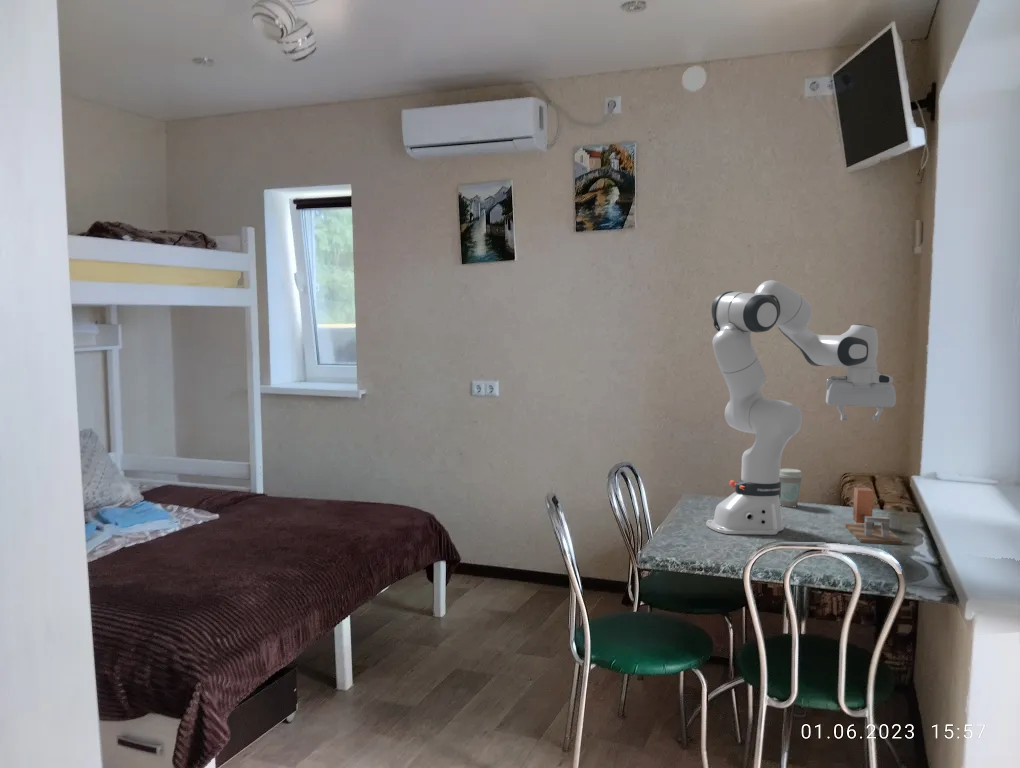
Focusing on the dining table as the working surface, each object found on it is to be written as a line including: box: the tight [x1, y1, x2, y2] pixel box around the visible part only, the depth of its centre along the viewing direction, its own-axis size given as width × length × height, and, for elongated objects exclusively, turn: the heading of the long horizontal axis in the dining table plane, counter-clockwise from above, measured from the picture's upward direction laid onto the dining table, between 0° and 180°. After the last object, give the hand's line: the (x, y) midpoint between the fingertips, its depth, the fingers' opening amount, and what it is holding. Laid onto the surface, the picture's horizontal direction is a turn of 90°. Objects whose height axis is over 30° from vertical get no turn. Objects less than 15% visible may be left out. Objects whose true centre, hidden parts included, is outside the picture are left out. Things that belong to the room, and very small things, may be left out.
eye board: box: [844, 516, 903, 545], centre depth 238 cm, size 18×11×6 cm, turn 170°
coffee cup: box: [779, 467, 803, 508], centre depth 276 cm, size 8×9×12 cm
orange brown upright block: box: [852, 486, 875, 526], centre depth 246 cm, size 12×4×10 cm, turn 170°
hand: (859, 420), depth 257 cm, fingers open, 8 cm apart
